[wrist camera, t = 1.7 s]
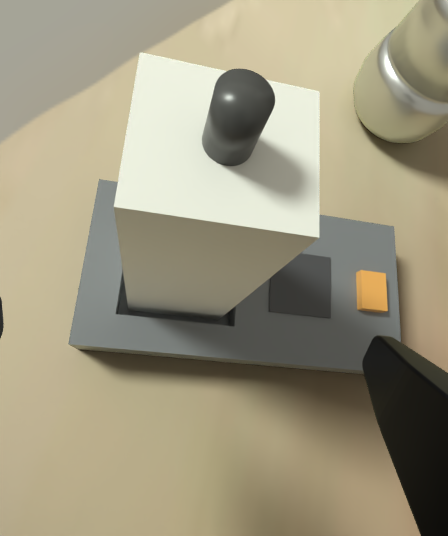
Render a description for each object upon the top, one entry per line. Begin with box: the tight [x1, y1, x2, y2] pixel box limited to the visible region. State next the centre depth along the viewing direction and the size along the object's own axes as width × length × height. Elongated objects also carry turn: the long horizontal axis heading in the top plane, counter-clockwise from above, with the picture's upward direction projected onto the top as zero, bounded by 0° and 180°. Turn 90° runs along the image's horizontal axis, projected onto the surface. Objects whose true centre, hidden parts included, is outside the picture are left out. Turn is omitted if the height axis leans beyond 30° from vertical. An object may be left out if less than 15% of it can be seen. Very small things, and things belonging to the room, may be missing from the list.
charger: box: [114, 52, 319, 320], centre depth 14 cm, size 4×4×14 cm
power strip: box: [69, 179, 401, 374], centre depth 20 cm, size 16×8×3 cm, turn 86°
